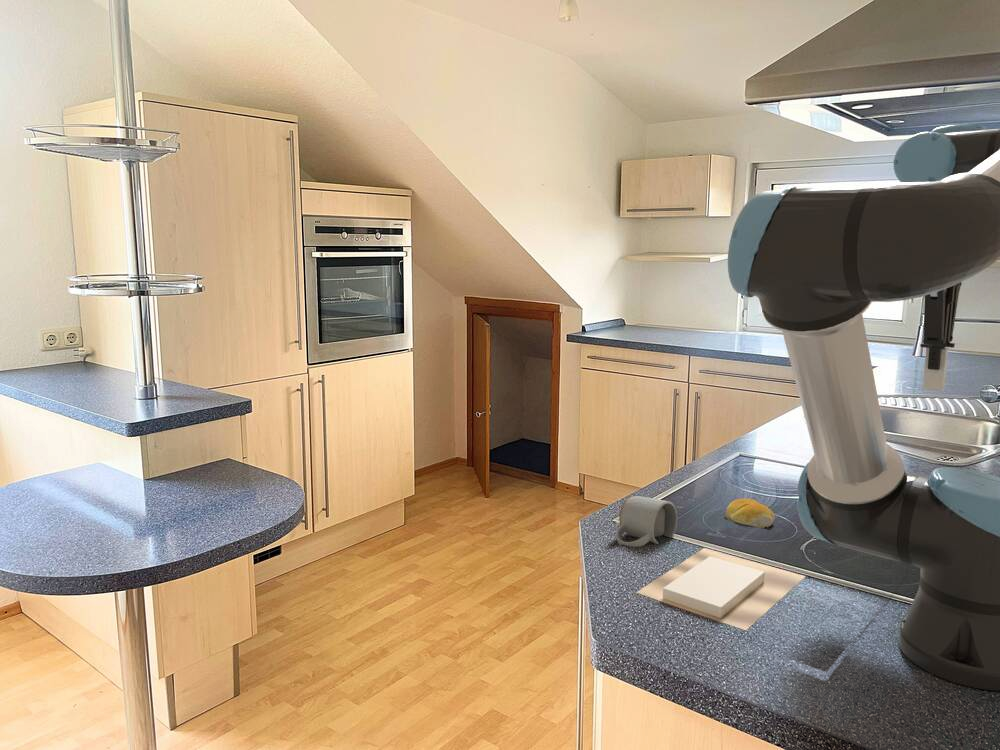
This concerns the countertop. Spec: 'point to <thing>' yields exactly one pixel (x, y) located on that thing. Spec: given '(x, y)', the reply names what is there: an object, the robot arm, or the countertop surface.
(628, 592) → the countertop surface
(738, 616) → the cork mat
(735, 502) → the bread roll
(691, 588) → the ceramic tile
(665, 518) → the ceramic mug
